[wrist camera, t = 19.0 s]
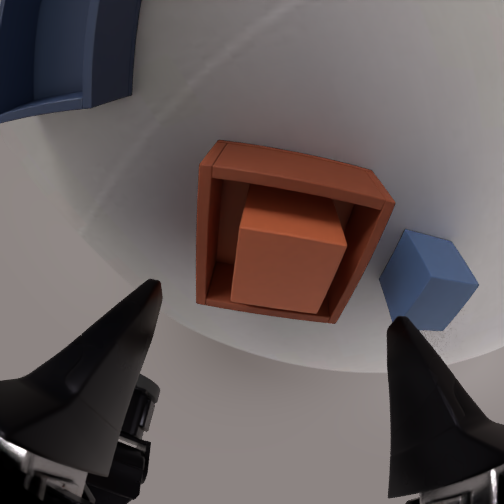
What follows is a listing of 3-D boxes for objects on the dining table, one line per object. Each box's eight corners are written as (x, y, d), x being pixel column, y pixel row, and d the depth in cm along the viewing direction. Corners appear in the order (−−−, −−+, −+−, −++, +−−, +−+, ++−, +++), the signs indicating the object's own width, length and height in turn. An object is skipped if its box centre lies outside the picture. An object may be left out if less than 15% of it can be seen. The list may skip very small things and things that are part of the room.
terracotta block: (240, 247, 15) (229, 302, 12) (250, 181, 13) (239, 226, 10) (311, 258, 15) (317, 314, 12) (332, 196, 13) (348, 245, 10)
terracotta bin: (209, 261, 17) (196, 303, 14) (218, 139, 12) (198, 164, 9) (329, 280, 17) (335, 324, 14) (372, 170, 12) (396, 202, 9)
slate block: (378, 279, 16) (393, 329, 13) (404, 228, 14) (431, 276, 11) (424, 286, 16) (442, 331, 13) (451, 241, 14) (479, 285, 11)
